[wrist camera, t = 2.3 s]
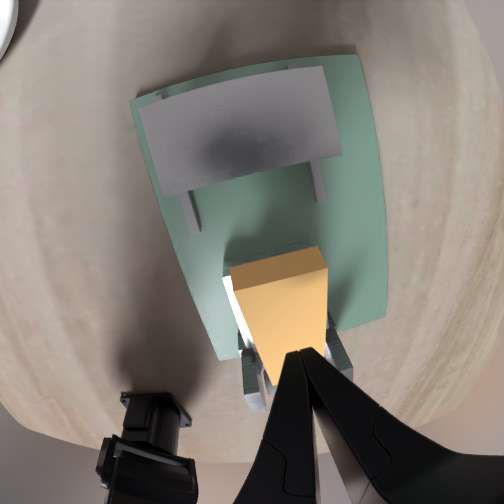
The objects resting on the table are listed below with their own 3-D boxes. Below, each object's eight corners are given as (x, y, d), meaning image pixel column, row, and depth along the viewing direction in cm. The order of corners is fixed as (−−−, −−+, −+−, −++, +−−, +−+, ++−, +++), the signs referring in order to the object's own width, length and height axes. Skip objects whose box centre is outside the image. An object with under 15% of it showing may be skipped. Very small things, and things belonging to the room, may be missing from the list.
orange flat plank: (323, 360, 20) (329, 382, 18) (265, 375, 20) (270, 397, 18) (325, 238, 11) (342, 270, 10) (217, 264, 11) (221, 301, 10)
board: (381, 310, 23) (389, 320, 22) (219, 353, 24) (219, 366, 22) (351, 57, 15) (362, 52, 13) (134, 102, 15) (125, 100, 14)
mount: (331, 339, 23) (353, 390, 17) (247, 360, 23) (252, 416, 17) (328, 310, 22) (354, 362, 16) (237, 333, 22) (240, 391, 16)
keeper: (298, 146, 17) (341, 155, 10) (190, 173, 17) (163, 198, 10) (285, 92, 15) (322, 65, 8) (175, 118, 15) (138, 108, 9)
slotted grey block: (319, 308, 21) (330, 332, 19) (244, 327, 22) (247, 353, 19) (309, 238, 19) (322, 256, 16) (223, 260, 19) (222, 281, 16)
